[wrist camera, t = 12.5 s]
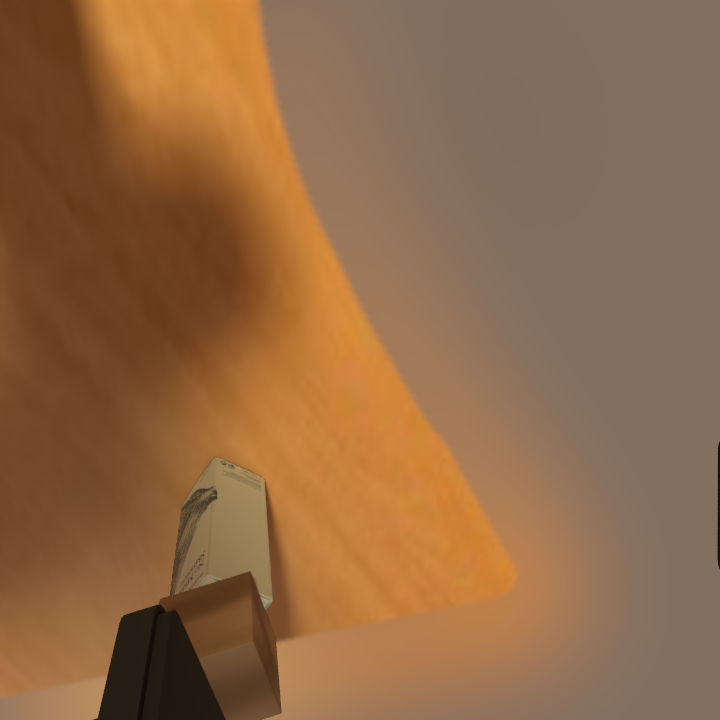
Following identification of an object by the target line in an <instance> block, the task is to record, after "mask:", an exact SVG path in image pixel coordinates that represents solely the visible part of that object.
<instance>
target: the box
mask: <svg viewBox="0 0 720 720" xmlns="http://www.w3.org/2000/svg"><path fill="white" fill-rule="evenodd" d="M249 571H251V574H252V577H253V579H254V582H255V584H256V587H257V590H258V592H259V595H260V598H261V600H262V603H263V606H264V608H265V611H266V610H267V609H268V607H269V606H270V604H271V603H272V601H273V592H272V579H271V564H270V549H269V535H268V521H267V506H266V491H265V479H264V478H262V477H260V476H258V475H256V474H254V473H251V472H249V471H247V470H245V469H243V468H241V467H238V466H236V465H234V464H232V463H229V462H227V461H225V460H223V459H220V458H217V457H215V458H214V459H213V460H212V462H211V463H210V464H209V466H208V467H207V469H206V470H205V471H204V473H203V474H202V476H201V477H200V478H199V480H198V481H197V483H196V484H195V486H194V487H193V489H192V490H191V492H190V494H189V495H188V497H187V498H186V500H185V502H184V503H183V505H182V509H181V516H180V524H179V530H178V538H177V545H176V552H175V560H174V567H173V575H172V583H171V591H170V596H172V595H175V594H179V593H182V592H185V591H188V590H191V589H195V588H198V587H201V586H204V585H207V584H211V583H214V582H217V581H220V580H223V579H227V578H230V577H233V576H236V575H239V574H243V573H246V572H249Z"/></svg>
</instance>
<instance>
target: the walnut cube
mask: <svg viewBox="0 0 720 720" xmlns="http://www.w3.org/2000/svg"><path fill="white" fill-rule="evenodd" d="M159 605H161V606H162V607H164V609H165V611H166V612H168V611H172V610H176V611H177V612H178V614H179V616H180V618H181V620H182V623H183V625H184V627H185V629H186V632H187V634H188V636H189V638H190V641H191V643H192V645H193V647H194V650H195V652H196V654H197V656H198V659H199V661H200V663H201V665H202V668H203V670H204V672H205V674H206V677H207V679H208V681H209V683H210V686H211V688H212V690H213V692H214V695H215V697H216V699H217V701H218V704H219V706H220V708H221V710H222V712H223V715H224V717H225V719H226V720H262V719H265V718H268V717H271V716H274V715H277V714H280V713H281V701H280V689H279V675H278V664H277V663H278V662H277V650H276V637H275V635H274V632H273V630H272V627H271V624H270V622H269V619H268V616H267V614H266V611H265V608H264V606H263V603H262V600H261V598H260V595H259V592H258V590H257V587H256V584H255V582H254V579H253V577H252V574H251V571H249V572H246V573H243V574H239V575H236V576H233V577H230V578H227V579H223V580H220V581H217V582H214V583H211V584H207V585H204V586H201V587H198V588H195V589H191V590H188V591H185V592H182V593H179V594H175V595H172V596H169V597H166V598H163V599H160V602H159Z"/></svg>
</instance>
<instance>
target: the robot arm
mask: <svg viewBox="0 0 720 720" xmlns="http://www.w3.org/2000/svg"><path fill="white" fill-rule="evenodd" d="M718 565H719V568H720V442H719V446H718ZM94 720H226V719H225V717H224V715H223V712H222V710H221V708H220V706H219V704H218V701H217V699H216V697H215V695H214V692H213V690H212V688H211V686H210V683H209V681H208V679H207V677H206V674H205V672H204V670H203V668H202V665H201V663H200V661H199V659H198V656H197V654H196V652H195V650H194V647H193V645H192V643H191V641H190V638H189V636H188V634H187V632H186V629H185V627H184V625H183V623H182V620H181V618H180V616H179V614H178V612H177V611H176V610H172V611H168V612H166V611H165V609H164V607H162V606H161V605H155V606H152V607H149V608H146V609H142V610H139V611H136V612H133V613H130V614H126V615H124V616H123V617H122V618H121V621H120V624H119V628H118V633H117V637H116V641H115V646H114V650H113V654H112V659H111V663H110V667H109V672H108V676H107V681H106V685H105V689H104V694H103V698H102V702H101V707H100V711H99V716H98V718H97V719H94Z"/></svg>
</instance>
